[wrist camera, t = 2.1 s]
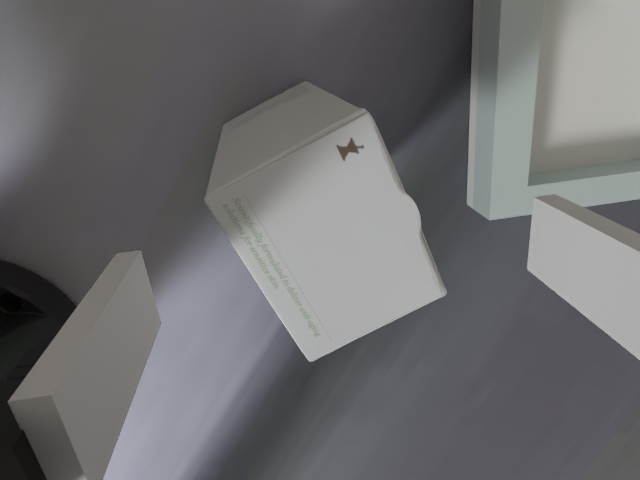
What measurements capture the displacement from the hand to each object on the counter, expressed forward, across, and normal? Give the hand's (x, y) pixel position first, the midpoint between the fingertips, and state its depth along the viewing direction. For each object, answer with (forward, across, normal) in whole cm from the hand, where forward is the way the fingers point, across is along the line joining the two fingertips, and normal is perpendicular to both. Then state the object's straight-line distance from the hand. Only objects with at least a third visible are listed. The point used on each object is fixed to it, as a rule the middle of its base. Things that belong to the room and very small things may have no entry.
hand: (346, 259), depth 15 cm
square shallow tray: (+17, +20, +3) cm, 26 cm away
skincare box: (+17, 0, 0) cm, 17 cm away
